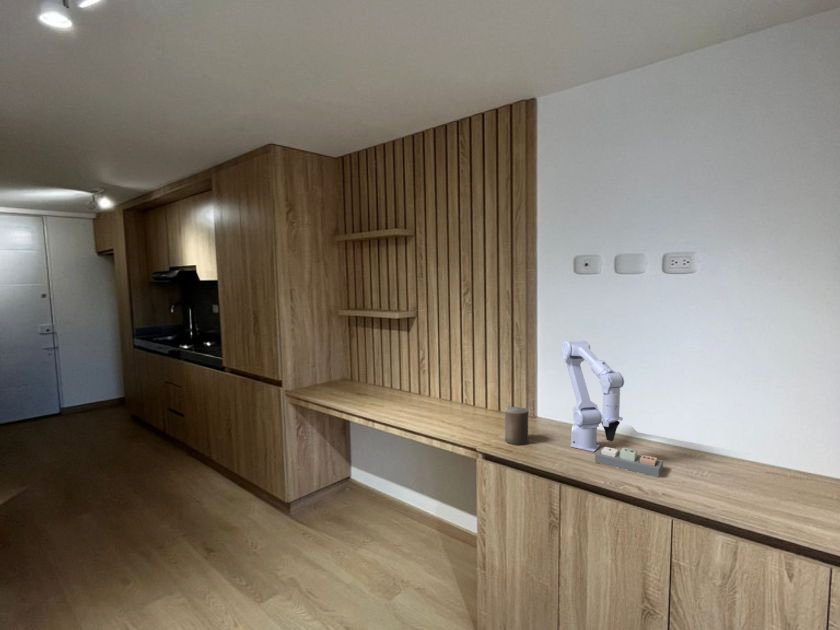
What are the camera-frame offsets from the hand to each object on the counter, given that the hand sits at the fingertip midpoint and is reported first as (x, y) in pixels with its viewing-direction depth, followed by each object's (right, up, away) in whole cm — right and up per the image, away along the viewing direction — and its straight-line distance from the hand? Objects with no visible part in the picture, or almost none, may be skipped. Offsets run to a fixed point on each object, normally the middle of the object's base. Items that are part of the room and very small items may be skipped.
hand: (610, 440), depth 162 cm
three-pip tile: (+10, -8, -7) cm, 15 cm away
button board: (+5, -8, -3) cm, 10 cm away
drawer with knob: (0, -8, +1) cm, 8 cm away
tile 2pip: (+5, -7, -4) cm, 9 cm away
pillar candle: (-30, -7, +22) cm, 38 cm away
